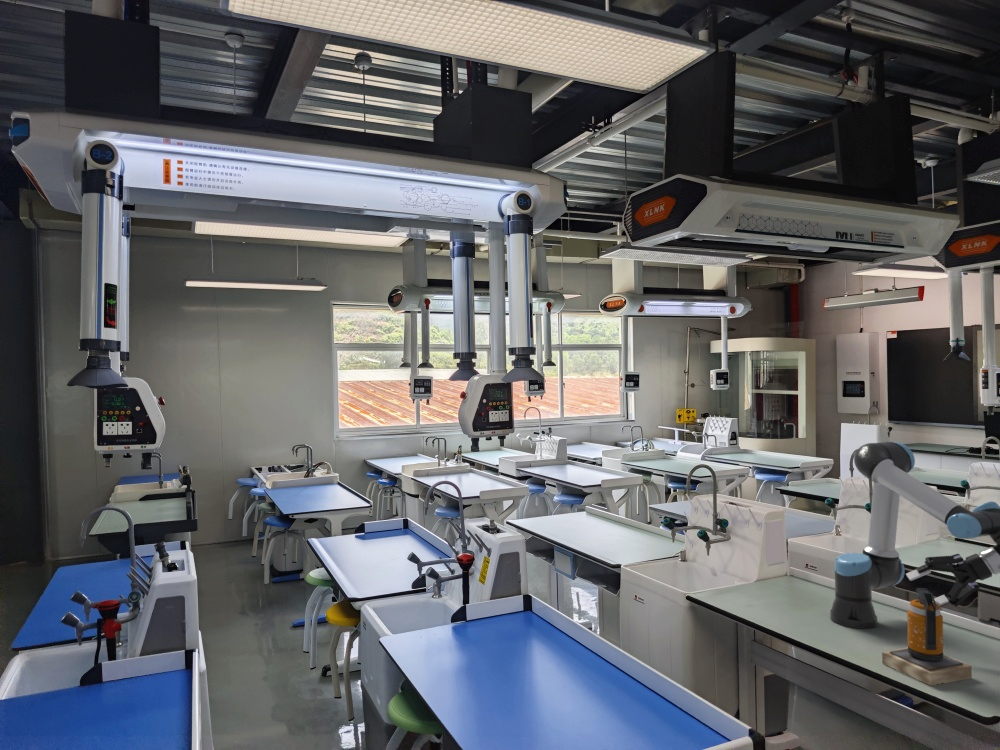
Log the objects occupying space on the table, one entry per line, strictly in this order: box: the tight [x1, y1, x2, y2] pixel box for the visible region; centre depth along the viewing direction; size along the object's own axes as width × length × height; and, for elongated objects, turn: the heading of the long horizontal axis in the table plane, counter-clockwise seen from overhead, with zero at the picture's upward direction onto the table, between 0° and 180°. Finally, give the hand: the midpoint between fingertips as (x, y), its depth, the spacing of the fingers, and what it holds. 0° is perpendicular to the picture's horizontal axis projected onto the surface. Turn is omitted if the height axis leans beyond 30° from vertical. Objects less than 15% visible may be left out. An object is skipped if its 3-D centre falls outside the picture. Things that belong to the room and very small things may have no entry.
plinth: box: [881, 647, 973, 686], centre depth 198 cm, size 16×16×4 cm
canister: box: [906, 587, 944, 661], centre depth 198 cm, size 9×11×20 cm
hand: (917, 592), depth 212 cm, fingers open, 13 cm apart
